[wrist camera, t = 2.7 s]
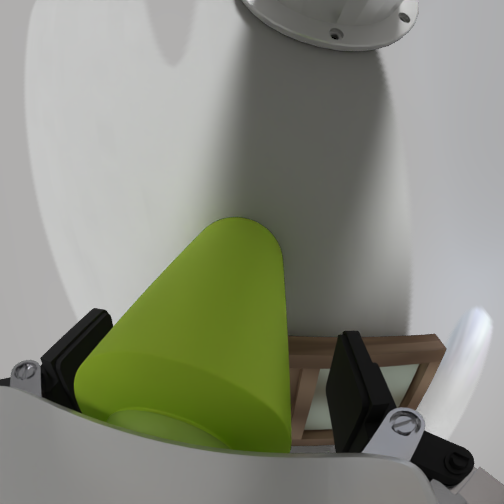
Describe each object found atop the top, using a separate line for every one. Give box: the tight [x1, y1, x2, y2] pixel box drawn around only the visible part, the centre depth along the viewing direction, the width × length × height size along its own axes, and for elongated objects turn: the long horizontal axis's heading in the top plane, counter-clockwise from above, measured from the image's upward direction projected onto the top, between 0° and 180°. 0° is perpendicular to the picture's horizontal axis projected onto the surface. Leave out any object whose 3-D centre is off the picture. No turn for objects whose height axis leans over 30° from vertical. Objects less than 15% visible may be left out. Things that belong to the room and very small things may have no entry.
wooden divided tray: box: [288, 334, 446, 446], centre depth 19 cm, size 11×22×5 cm, turn 88°
